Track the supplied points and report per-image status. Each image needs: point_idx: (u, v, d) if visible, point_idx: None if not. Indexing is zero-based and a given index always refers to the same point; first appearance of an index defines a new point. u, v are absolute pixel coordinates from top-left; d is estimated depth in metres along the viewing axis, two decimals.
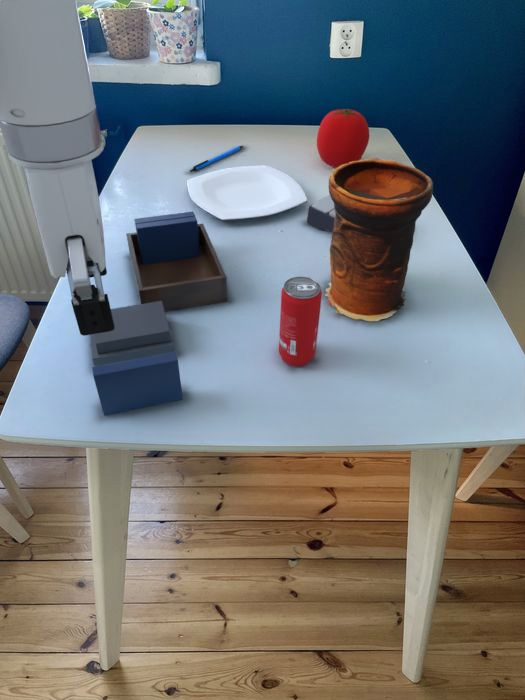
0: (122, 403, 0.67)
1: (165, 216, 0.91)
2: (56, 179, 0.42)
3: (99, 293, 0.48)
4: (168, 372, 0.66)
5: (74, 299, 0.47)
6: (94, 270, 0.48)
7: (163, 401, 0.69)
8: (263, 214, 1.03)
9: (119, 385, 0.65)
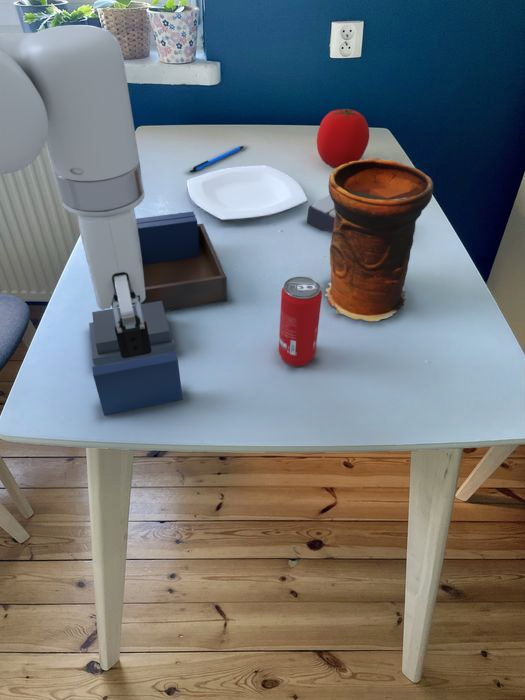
0: (122, 403, 0.67)
1: (165, 216, 0.91)
2: (106, 226, 0.48)
3: (140, 322, 0.54)
4: (168, 372, 0.66)
5: (118, 327, 0.53)
6: (135, 301, 0.54)
7: (163, 401, 0.69)
8: (263, 214, 1.03)
9: (119, 385, 0.65)
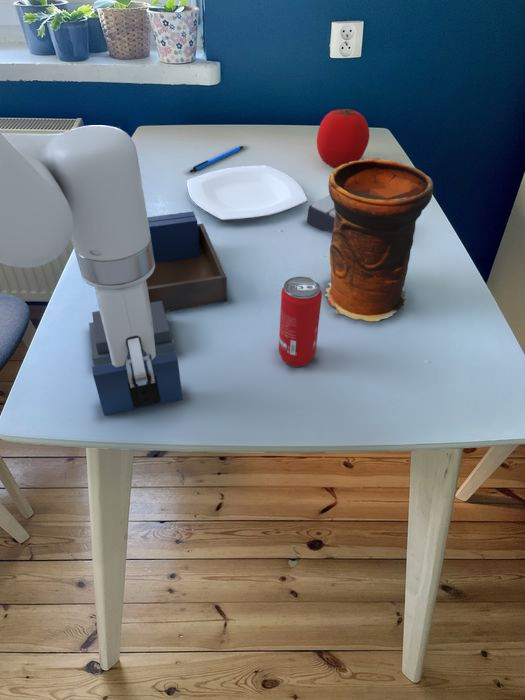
0: (122, 403, 0.67)
1: (165, 216, 0.91)
2: (121, 297, 0.53)
3: (151, 377, 0.59)
4: (168, 372, 0.66)
5: (131, 383, 0.58)
6: (147, 359, 0.59)
7: (163, 401, 0.69)
8: (263, 214, 1.03)
9: (119, 385, 0.65)
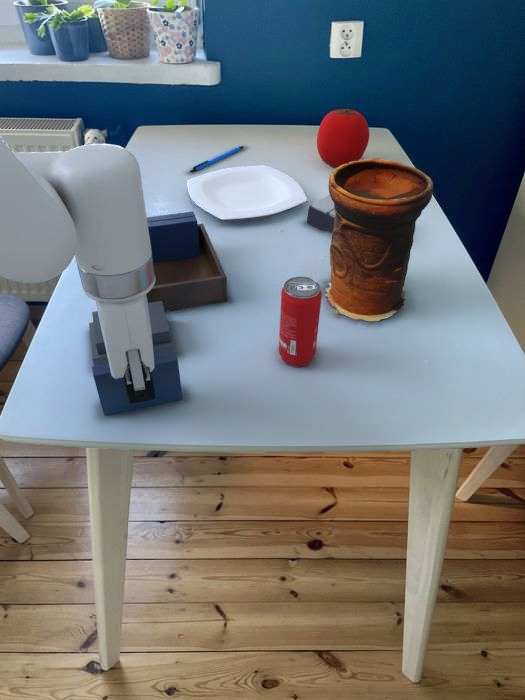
0: (122, 403, 0.67)
1: (165, 216, 0.91)
2: (122, 311, 0.54)
3: (147, 378, 0.63)
4: (168, 372, 0.66)
5: (128, 383, 0.63)
6: (144, 366, 0.62)
7: (163, 401, 0.69)
8: (263, 214, 1.03)
9: (119, 385, 0.65)
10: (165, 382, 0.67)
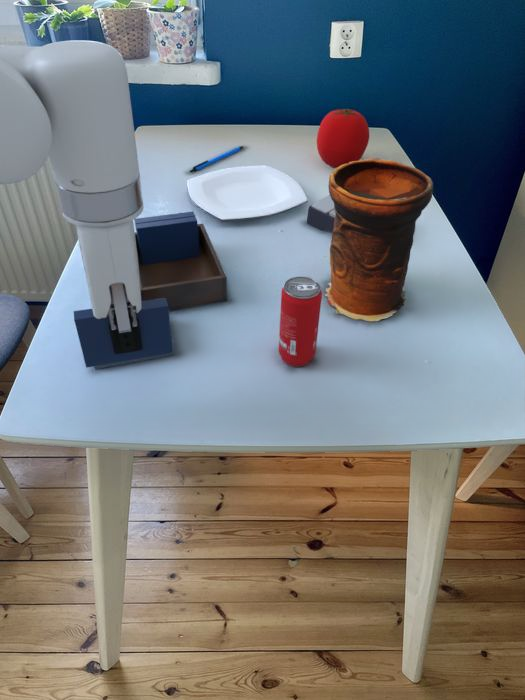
0: (106, 354, 0.61)
1: (165, 216, 0.91)
2: (105, 237, 0.48)
3: (133, 324, 0.58)
4: (157, 320, 0.60)
5: (113, 328, 0.57)
6: (131, 309, 0.56)
7: (151, 354, 0.63)
8: (263, 214, 1.03)
9: (103, 333, 0.59)
10: (154, 331, 0.61)
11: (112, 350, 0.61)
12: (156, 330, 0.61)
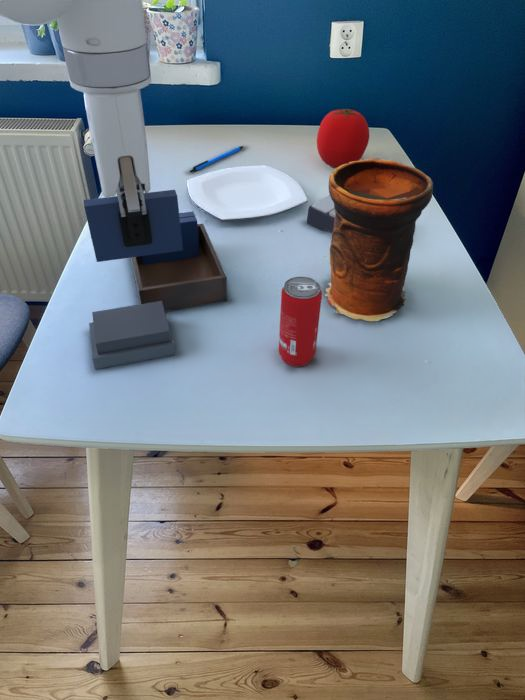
0: (116, 248, 0.62)
1: None
2: (113, 102, 0.48)
3: (143, 211, 0.58)
4: (166, 211, 0.60)
5: (122, 215, 0.58)
6: (140, 193, 0.56)
7: (161, 250, 0.63)
8: (263, 214, 1.03)
9: (113, 223, 0.60)
10: (163, 224, 0.61)
11: (122, 243, 0.61)
12: (166, 223, 0.61)
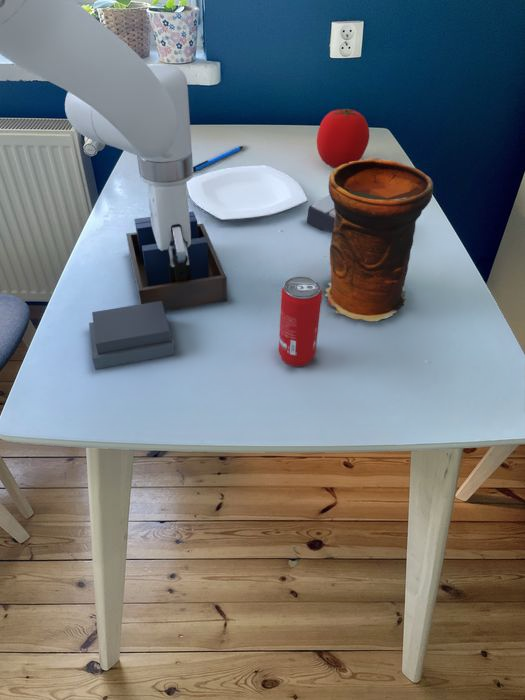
0: (163, 278, 0.87)
1: None
2: (170, 191, 0.73)
3: (186, 260, 0.80)
4: (199, 252, 0.85)
5: (172, 264, 0.79)
6: None
7: (194, 279, 0.88)
8: (263, 214, 1.03)
9: (162, 261, 0.85)
10: (196, 261, 0.86)
11: (167, 275, 0.86)
12: (198, 260, 0.86)
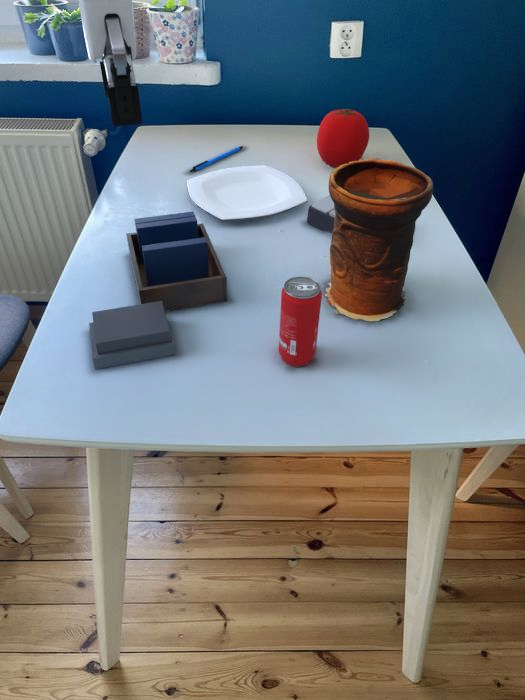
0: (163, 278, 0.87)
1: (165, 216, 0.91)
2: None
3: (131, 76, 0.55)
4: (199, 252, 0.85)
5: (110, 80, 0.55)
6: (127, 56, 0.55)
7: (194, 279, 0.88)
8: (263, 214, 1.03)
9: (162, 261, 0.85)
10: (196, 261, 0.86)
11: (167, 275, 0.86)
12: (198, 260, 0.86)
